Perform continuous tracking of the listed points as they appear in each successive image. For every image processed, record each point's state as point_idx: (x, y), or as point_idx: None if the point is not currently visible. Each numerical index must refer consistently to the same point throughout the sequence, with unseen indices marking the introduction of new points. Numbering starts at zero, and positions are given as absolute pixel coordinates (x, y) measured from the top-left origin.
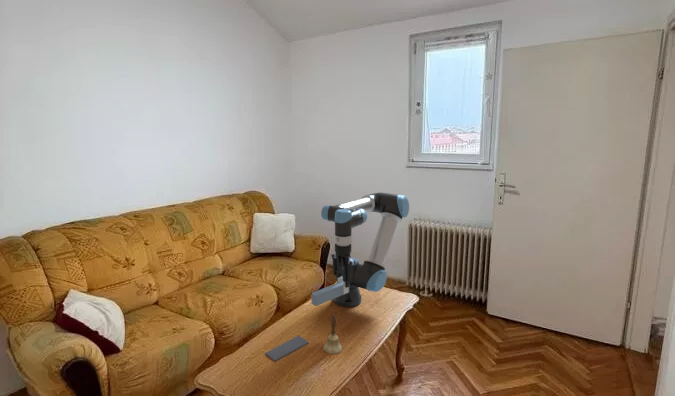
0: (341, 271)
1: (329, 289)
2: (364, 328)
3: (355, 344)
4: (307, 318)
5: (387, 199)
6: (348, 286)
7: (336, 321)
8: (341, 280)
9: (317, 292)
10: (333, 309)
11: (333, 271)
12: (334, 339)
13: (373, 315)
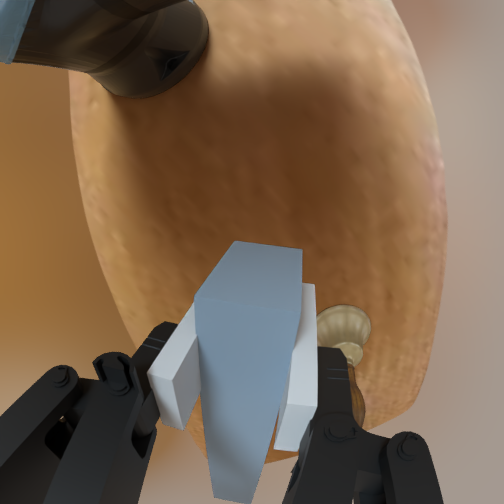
0: (119, 466)
1: (252, 474)
2: (362, 158)
3: (392, 272)
4: (145, 255)
5: None
6: (341, 362)
7: (364, 403)
8: (193, 365)
9: (229, 494)
10: (157, 134)
11: (62, 435)
12: (356, 364)
13: (321, 47)
